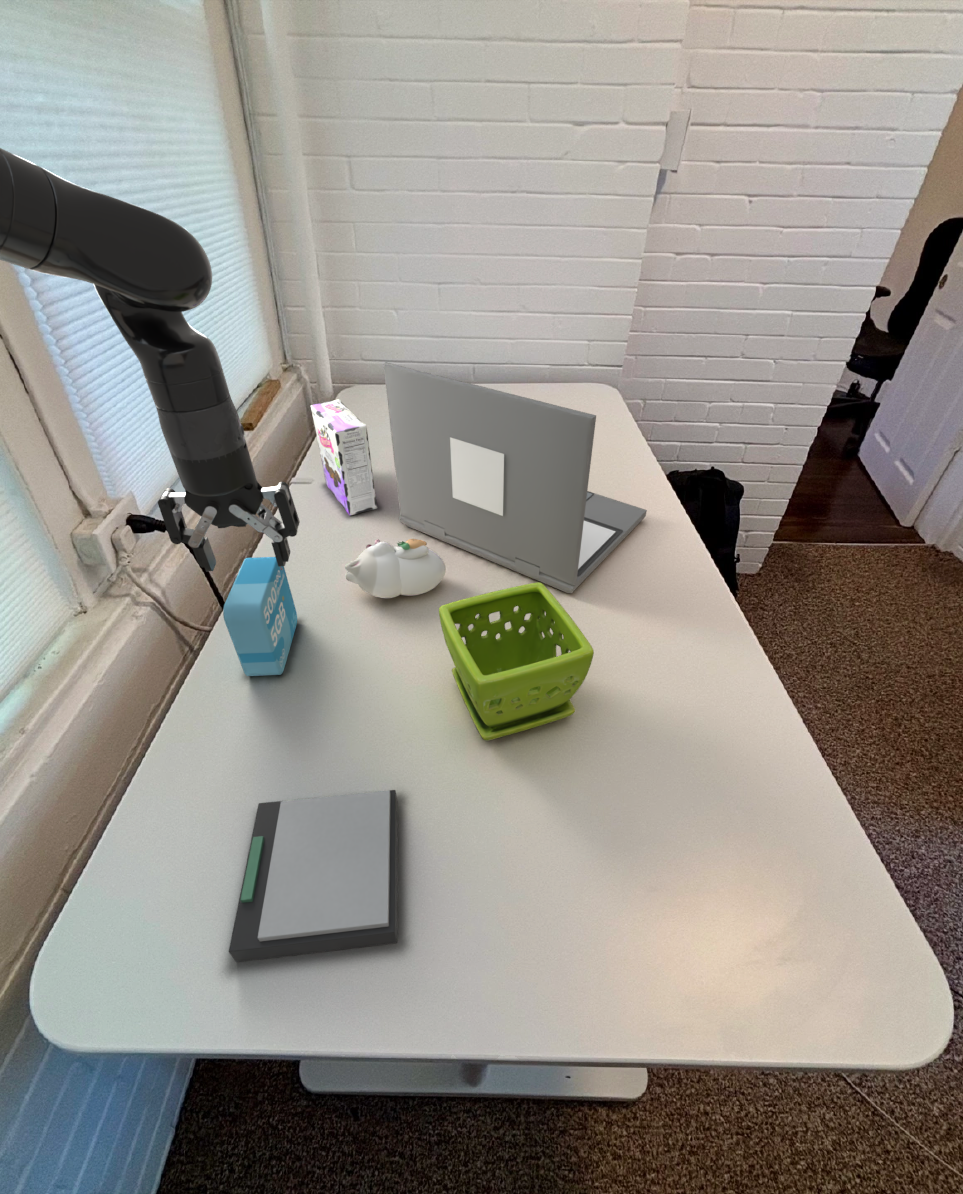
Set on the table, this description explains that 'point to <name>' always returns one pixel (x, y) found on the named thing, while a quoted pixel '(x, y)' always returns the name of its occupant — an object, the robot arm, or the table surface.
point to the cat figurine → (396, 569)
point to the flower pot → (515, 658)
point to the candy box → (345, 456)
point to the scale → (319, 877)
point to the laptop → (501, 477)
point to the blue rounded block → (261, 616)
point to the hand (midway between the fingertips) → (247, 565)
